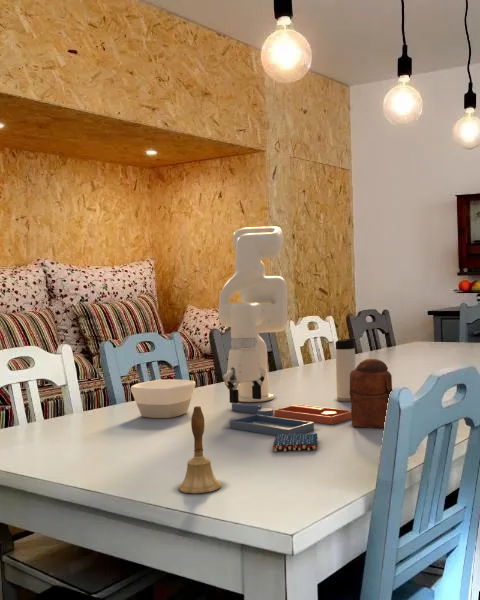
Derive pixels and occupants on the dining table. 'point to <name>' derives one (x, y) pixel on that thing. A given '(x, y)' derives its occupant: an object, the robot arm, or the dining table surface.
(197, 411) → the hand bell
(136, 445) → the dining table surface
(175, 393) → the bowl
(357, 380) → the wooden figurine
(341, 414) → the terracotta tray
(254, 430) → the slate tray
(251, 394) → the robot arm
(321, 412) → the terracotta spoon
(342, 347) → the travel mug
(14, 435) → the dining table surface
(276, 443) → the woven mat
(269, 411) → the slate spoon
